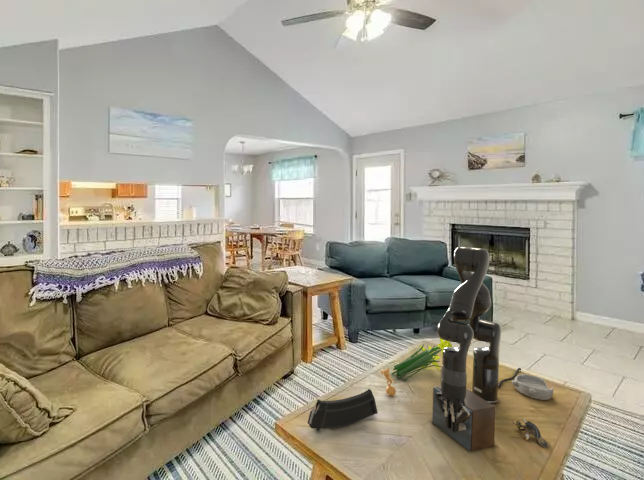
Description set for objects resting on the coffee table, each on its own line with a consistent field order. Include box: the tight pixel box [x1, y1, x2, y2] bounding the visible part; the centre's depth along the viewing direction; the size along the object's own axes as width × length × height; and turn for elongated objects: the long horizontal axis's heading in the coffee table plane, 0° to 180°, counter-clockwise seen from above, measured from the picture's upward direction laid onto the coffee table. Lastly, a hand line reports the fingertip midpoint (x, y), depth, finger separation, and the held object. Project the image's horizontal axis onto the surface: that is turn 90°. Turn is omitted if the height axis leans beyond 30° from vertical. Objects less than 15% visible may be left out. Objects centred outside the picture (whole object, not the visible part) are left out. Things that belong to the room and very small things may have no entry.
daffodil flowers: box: [391, 337, 453, 381], centre depth 182 cm, size 17×15×35 cm
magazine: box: [307, 388, 379, 432], centre depth 142 cm, size 17×3×30 cm
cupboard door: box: [431, 386, 472, 452], centre depth 134 cm, size 6×16×14 cm, turn 15°
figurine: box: [380, 368, 397, 397], centre depth 161 cm, size 8×6×12 cm
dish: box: [510, 373, 554, 401], centre depth 165 cm, size 14×14×5 cm
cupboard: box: [435, 385, 497, 451], centre depth 136 cm, size 10×16×14 cm, turn 15°
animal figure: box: [511, 418, 549, 448], centre depth 134 cm, size 8×7×9 cm
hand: (451, 429), depth 127 cm, fingers closed
